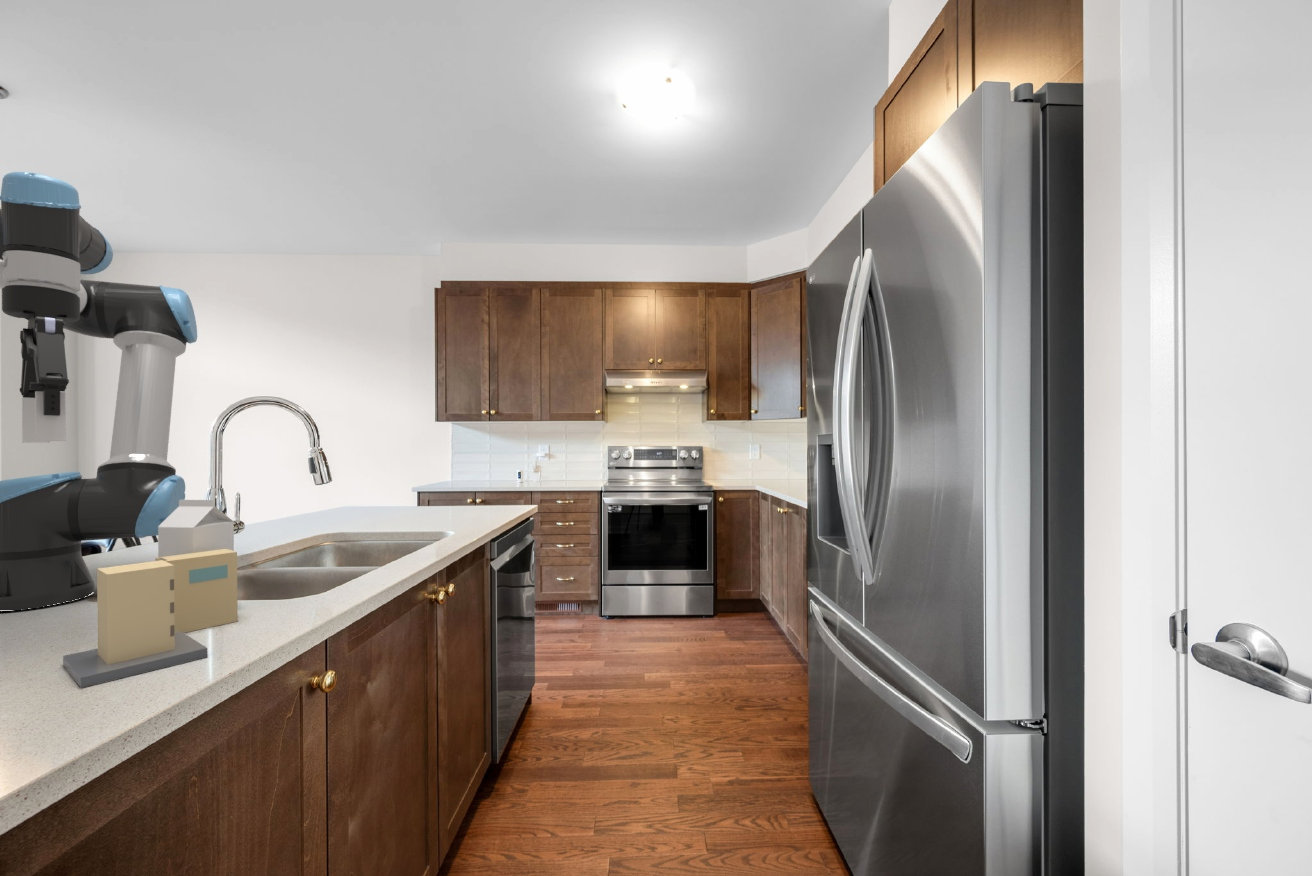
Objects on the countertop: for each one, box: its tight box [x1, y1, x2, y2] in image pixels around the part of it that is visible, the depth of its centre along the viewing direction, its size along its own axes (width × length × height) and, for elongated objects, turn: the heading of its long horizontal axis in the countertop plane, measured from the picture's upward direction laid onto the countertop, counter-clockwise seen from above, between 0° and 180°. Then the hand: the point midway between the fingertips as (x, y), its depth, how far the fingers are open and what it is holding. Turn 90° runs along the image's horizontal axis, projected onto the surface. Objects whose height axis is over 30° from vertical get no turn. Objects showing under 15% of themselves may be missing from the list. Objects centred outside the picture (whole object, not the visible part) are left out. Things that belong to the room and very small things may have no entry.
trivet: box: [62, 631, 208, 689], centre depth 76 cm, size 12×12×1 cm
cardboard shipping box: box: [155, 549, 239, 634], centre depth 91 cm, size 5×9×11 cm, turn 142°
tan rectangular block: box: [96, 560, 175, 664], centre depth 76 cm, size 6×6×11 cm
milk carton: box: [157, 499, 235, 558], centre depth 97 cm, size 7×7×19 cm
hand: (43, 442), depth 81 cm, fingers open, 13 cm apart
